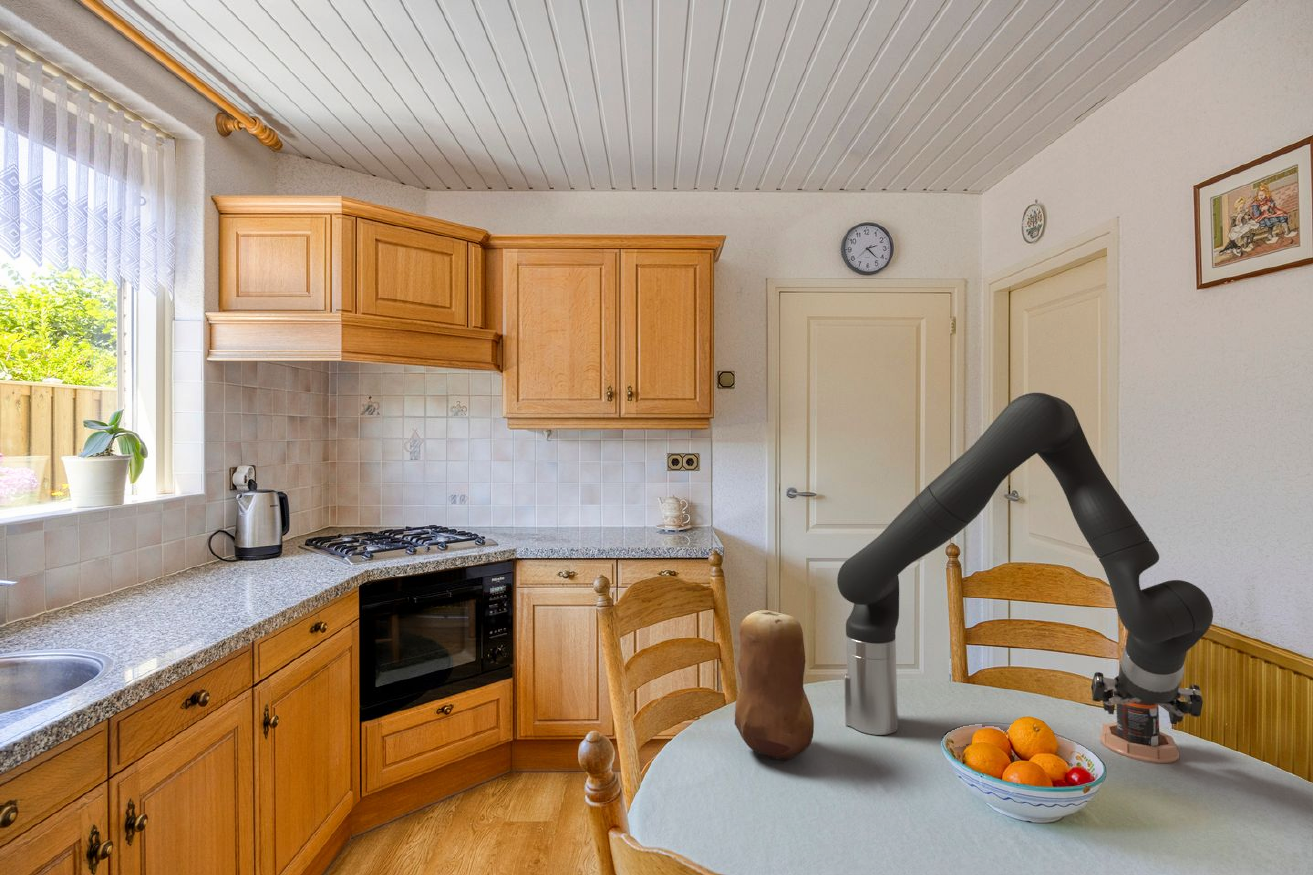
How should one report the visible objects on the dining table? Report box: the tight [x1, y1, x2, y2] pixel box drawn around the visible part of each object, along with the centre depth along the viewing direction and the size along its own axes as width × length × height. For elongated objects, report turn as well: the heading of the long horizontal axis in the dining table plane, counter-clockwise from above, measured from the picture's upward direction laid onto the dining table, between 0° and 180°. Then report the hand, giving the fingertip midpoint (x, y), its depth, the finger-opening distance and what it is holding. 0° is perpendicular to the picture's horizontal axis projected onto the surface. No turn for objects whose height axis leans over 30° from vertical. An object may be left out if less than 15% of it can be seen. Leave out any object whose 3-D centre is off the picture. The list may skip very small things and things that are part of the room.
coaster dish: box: [1099, 721, 1180, 764], centre depth 108 cm, size 11×11×2 cm
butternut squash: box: [734, 609, 815, 761], centre depth 109 cm, size 14×13×25 cm
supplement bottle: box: [1115, 702, 1160, 747], centre depth 108 cm, size 6×6×11 cm
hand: (1140, 713), depth 105 cm, fingers open, 8 cm apart
